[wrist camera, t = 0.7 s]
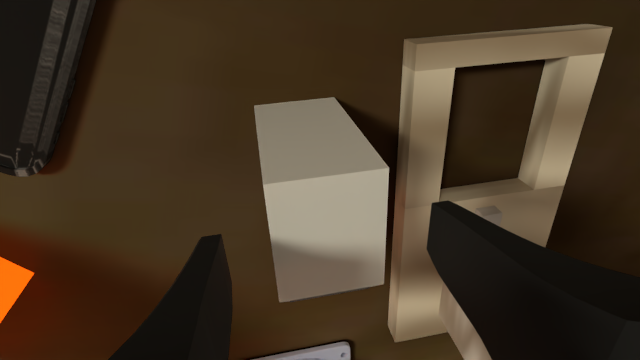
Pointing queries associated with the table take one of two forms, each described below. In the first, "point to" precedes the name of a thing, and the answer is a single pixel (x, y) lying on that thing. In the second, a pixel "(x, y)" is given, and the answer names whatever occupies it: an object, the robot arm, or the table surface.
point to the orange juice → (11, 284)
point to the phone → (37, 76)
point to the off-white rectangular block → (321, 199)
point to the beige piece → (491, 197)
